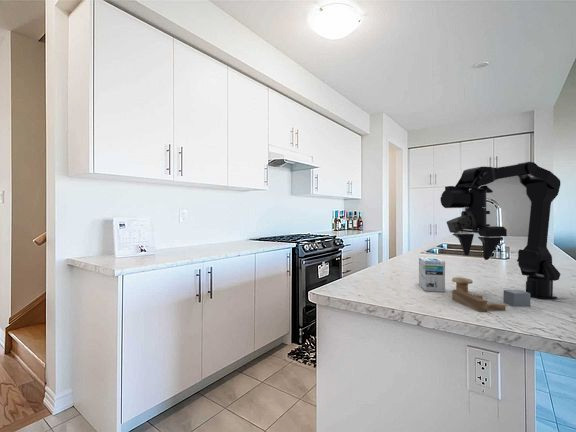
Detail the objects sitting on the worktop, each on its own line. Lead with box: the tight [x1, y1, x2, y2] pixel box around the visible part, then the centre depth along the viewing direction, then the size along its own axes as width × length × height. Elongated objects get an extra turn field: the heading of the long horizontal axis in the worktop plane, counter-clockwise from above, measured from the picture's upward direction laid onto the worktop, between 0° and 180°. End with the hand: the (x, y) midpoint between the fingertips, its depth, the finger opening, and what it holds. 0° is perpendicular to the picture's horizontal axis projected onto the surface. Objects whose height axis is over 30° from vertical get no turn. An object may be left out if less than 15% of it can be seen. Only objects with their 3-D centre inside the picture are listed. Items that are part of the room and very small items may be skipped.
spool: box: [451, 276, 473, 295], centre depth 102 cm, size 6×6×5 cm
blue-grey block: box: [502, 289, 531, 308], centre depth 91 cm, size 5×4×4 cm
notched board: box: [451, 289, 507, 313], centre depth 90 cm, size 8×12×3 cm
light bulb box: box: [418, 256, 446, 293], centre depth 110 cm, size 11×7×11 cm, turn 168°
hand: (475, 257), depth 96 cm, fingers open, 9 cm apart
